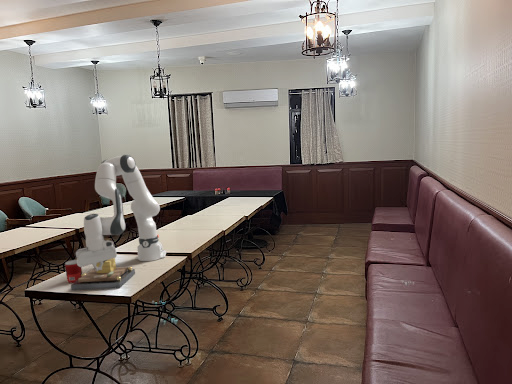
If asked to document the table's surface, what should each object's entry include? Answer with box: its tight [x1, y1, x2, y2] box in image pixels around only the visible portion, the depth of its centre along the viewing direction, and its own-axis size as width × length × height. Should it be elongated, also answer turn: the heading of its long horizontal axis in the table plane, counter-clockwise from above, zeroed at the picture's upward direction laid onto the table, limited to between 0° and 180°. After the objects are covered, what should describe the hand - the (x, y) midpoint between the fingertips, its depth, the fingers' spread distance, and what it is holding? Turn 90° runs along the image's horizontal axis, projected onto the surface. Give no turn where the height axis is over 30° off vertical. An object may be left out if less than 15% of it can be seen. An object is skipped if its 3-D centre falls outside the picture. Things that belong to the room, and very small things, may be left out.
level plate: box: [78, 258, 129, 282], centre depth 218 cm, size 19×20×10 cm
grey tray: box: [70, 266, 136, 291], centre depth 218 cm, size 22×26×5 cm
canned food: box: [64, 259, 83, 284], centre depth 223 cm, size 8×8×11 cm
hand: (98, 270), depth 211 cm, fingers closed
